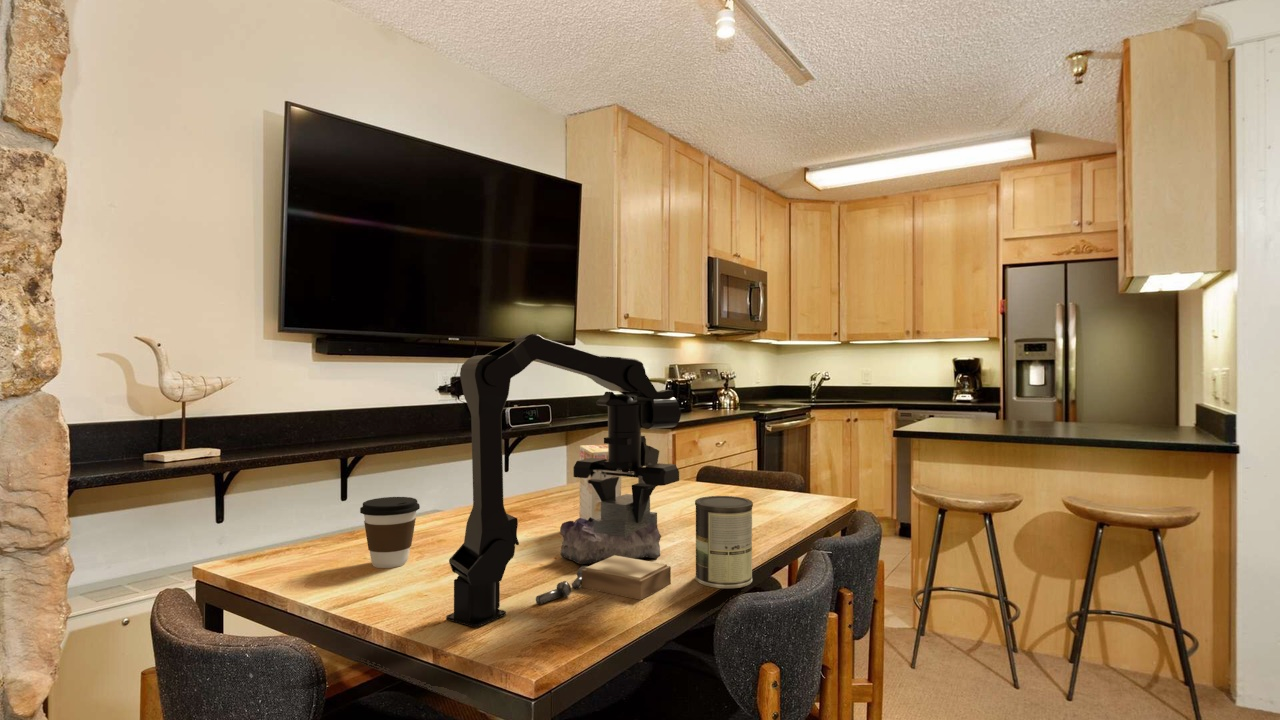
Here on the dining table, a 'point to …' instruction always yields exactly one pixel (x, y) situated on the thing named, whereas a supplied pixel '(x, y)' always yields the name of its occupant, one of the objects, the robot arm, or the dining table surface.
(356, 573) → the dining table surface
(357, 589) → the dining table surface
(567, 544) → the geode
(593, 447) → the coffeecake box
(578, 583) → the bolt
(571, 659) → the dining table surface
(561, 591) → the bolt
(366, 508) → the coffee cup
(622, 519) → the block
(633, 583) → the stand
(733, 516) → the coffee can
